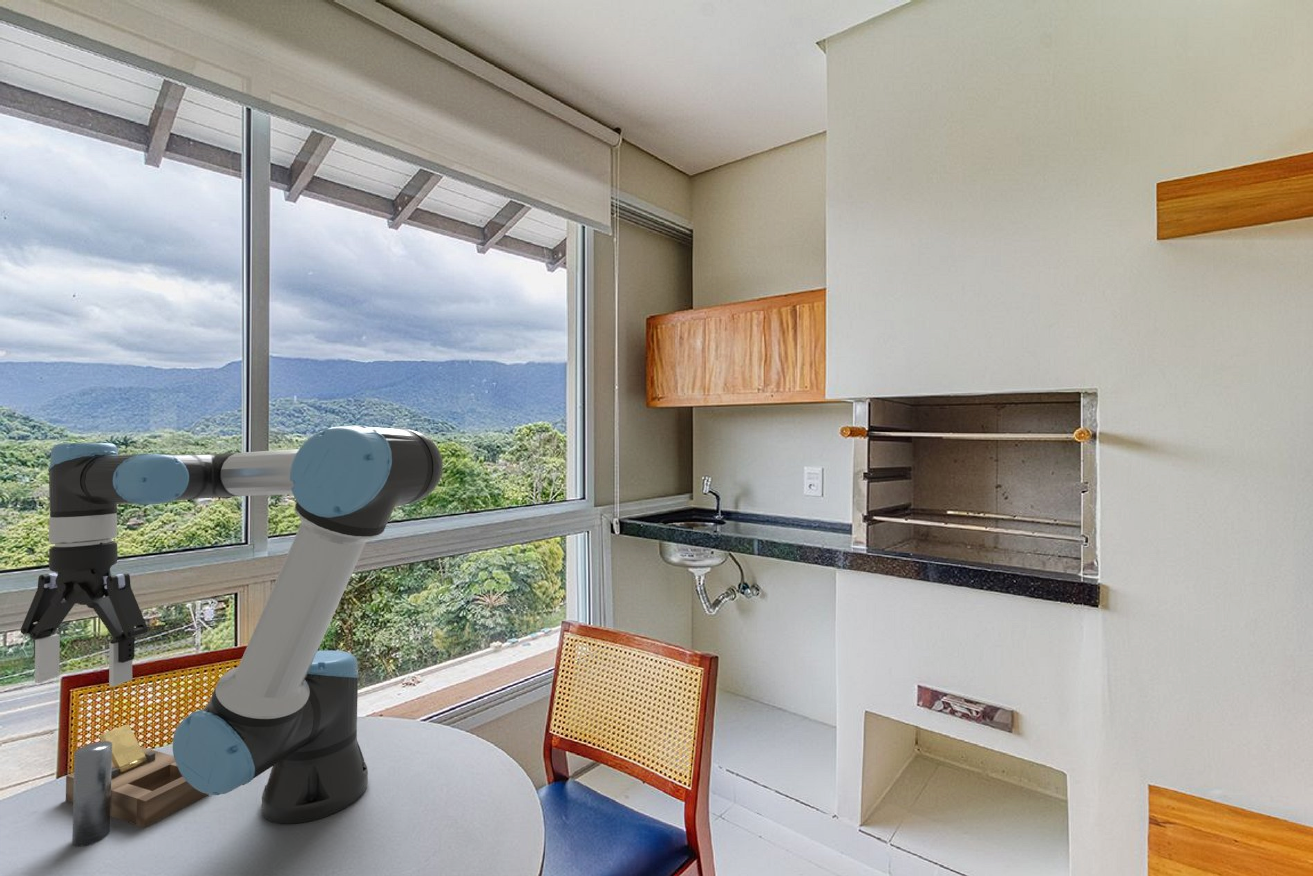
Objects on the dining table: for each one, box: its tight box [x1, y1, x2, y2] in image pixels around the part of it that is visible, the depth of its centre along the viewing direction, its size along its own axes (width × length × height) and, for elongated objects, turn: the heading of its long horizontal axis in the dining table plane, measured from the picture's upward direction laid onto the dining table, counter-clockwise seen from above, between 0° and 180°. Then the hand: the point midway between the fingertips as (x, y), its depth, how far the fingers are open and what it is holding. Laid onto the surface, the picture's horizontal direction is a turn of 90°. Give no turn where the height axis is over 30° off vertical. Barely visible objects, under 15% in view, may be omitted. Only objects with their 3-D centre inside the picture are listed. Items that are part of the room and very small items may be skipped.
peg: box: [71, 740, 112, 847], centre depth 86 cm, size 4×4×13 cm
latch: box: [99, 723, 147, 774], centre depth 97 cm, size 7×4×1 cm
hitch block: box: [65, 746, 209, 828], centre depth 96 cm, size 20×10×5 cm, turn 70°
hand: (83, 681), depth 89 cm, fingers open, 13 cm apart
